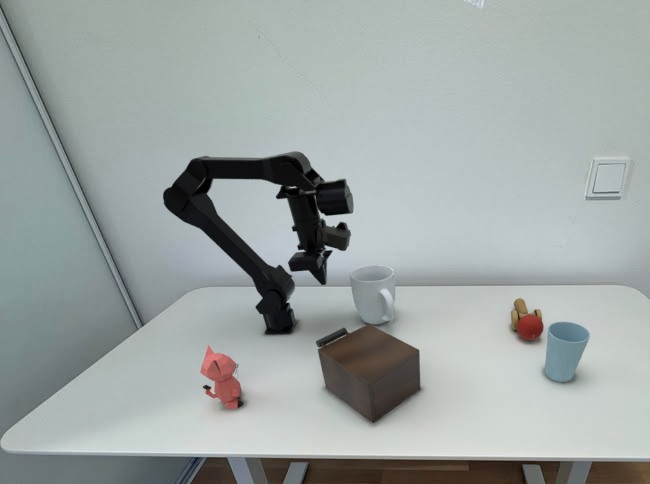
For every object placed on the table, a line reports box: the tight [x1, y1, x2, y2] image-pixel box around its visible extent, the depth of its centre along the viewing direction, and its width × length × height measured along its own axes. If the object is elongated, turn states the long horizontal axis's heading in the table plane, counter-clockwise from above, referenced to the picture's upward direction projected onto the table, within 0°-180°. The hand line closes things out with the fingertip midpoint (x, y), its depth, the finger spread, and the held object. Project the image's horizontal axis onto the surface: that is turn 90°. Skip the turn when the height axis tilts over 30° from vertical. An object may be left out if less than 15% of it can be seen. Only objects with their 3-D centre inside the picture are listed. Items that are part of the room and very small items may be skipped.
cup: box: [544, 321, 591, 383], centre depth 74 cm, size 8×8×10 cm
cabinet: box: [317, 323, 421, 424], centre depth 72 cm, size 15×13×10 cm
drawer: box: [315, 327, 350, 378], centre depth 74 cm, size 18×11×8 cm, turn 46°
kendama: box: [510, 297, 545, 341], centre depth 92 cm, size 8×6×18 cm
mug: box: [349, 263, 396, 325], centre depth 93 cm, size 15×11×13 cm
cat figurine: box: [199, 344, 244, 410], centre depth 69 cm, size 7×7×12 cm
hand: (324, 284), depth 88 cm, fingers closed
